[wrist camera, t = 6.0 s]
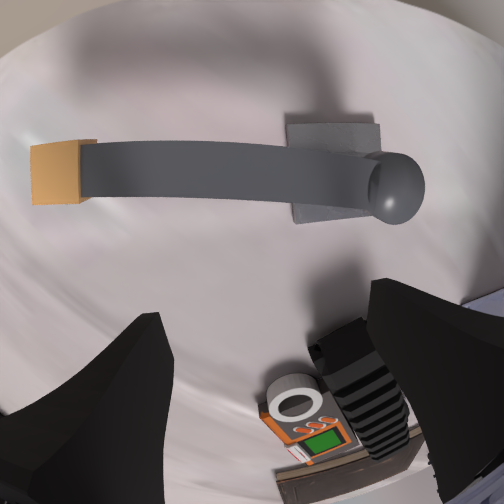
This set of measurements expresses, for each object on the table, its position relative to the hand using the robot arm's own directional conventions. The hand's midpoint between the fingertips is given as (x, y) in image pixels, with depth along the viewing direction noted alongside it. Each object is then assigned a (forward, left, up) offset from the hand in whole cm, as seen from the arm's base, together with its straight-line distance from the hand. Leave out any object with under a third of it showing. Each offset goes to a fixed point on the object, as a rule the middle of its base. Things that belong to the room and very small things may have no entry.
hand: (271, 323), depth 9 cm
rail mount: (-10, +17, -10) cm, 23 cm away
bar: (+1, -5, -4) cm, 6 cm away
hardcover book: (-12, +40, -10) cm, 43 cm away
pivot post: (-6, -4, -9) cm, 12 cm away
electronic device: (-4, +20, -10) cm, 22 cm away
